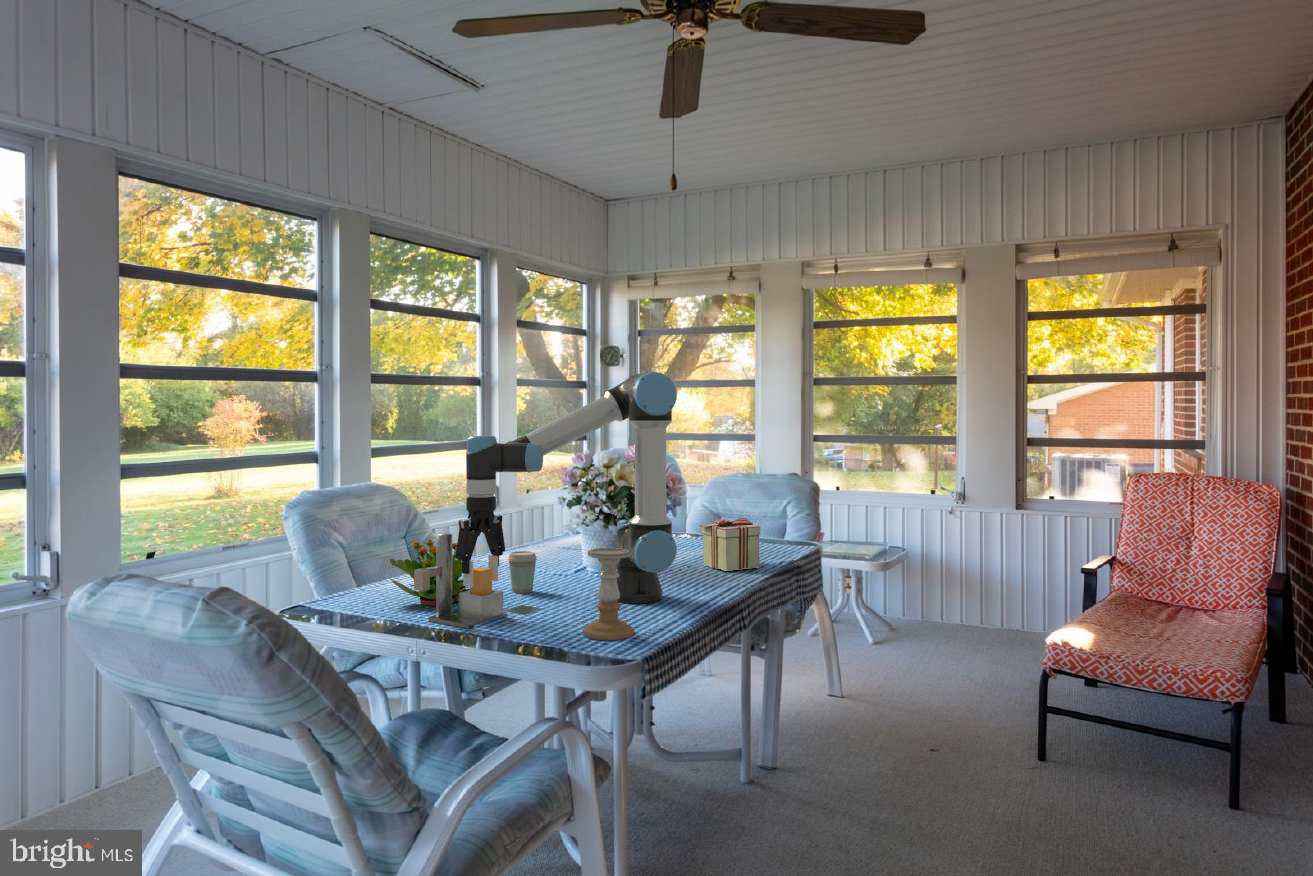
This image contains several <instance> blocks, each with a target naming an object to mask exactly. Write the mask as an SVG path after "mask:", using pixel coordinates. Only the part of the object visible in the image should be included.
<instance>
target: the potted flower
mask: <svg viewBox="0 0 1313 876" xmlns="http://www.w3.org/2000/svg"><path fill="white" fill-rule="evenodd" d="M424 544H425V545H426V546H427V547H428V548H429V550H428V548H426V547H425V546H424ZM424 544H421V541H415V542H413V543H412V546H413V547H412V549H413V550H416V551H417V552H416V553H417V554H418V556H417V557H416V559H417V560H416V559H413V560H412V561H411V559H408V558H405V559H397V560H395V559H394V558H389V563H390V564H391V566H393V567H395V568H398V569H401V570H402V571H403V572H405V573H407V574H408V575H409V576H410V577H411V579H413V582H414V570H416V569H421V568H422V569H424V568H429V567H434V566H436V546H435V545H434V541H433V540H432V539H431V538H429V539H427V541H426V543H424ZM456 549H457V542H452V550H454V551H453V553H452V604H454V603H455V602H456V601H458V593H461V592H465V591H469V590H470V587H468V586H463V579H460V578H461V577H462V576H463V573H462V561H461V560H459V559H456V557H455V556H456ZM427 550H428V551H427ZM418 560H419V561H418ZM390 581H391V582H392V583H393V584H394V585H396V586H397V587H398V588H400V589H401V590H402V591H404V592H406V593H407V594H409V595H412V596H414V597H417V598H419V601H420V603H421V605H423V606H429V607H430V606H431V607H433V606H434V607H435V606H436V576H433V577H430V590H426V591H418V590H414V589H412V588H409V587H408V586H407V585H405V584H402V583H401V582H399V581H397V580H395V579H390ZM409 585H410V587H414V584H411V583H409Z"/></svg>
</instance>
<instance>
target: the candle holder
mask: <svg viewBox="0 0 1313 876" xmlns="http://www.w3.org/2000/svg"><path fill="white" fill-rule="evenodd" d="M586 553H587V556H588V557H590V558H593V559H597V561H598V563H599V564H600V565H601V571H600V572H599V574H598V577H599V578H600V583H599V589H598V591H597V596H596V597H597V599H598V600H599V601H598V603H597V604H596V608H597V610H598V611H599V613H598V619H597V620H593V621H592V622H590V623H589V624H587V625H586V626H583V627H584V628H583V629H582V633H583V636H584V637H586V638H589V639H592V640H597V641H598V640H599V641H618V640H620V641H621V640H625V639H628V638H630V637H633V636H634V632H635V629H634V627H633V626H632V625H630V624H628V623H627V622H626V621H624V620H623V619H622V620H621V619H619V612H618V611H619V610H620V609H621V607H622V605H621V604H620V602H618V601H617V600H618V599H619V597H620V592H619V589H618V585H617V578H618V577H619V573H618V572H617V564H618V563H619V561H620V559H621V558H626V557H628V556H630V554H631V552H630V551H629V550H627V549H621V548H617V547H601V548H600V547H598V548H592V549H589V550H587V552H586Z"/></svg>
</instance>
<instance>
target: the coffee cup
mask: <svg viewBox="0 0 1313 876" xmlns="http://www.w3.org/2000/svg"><path fill="white" fill-rule="evenodd" d="M537 558H538V557H537V556H536V552H534V551H526V550H519V551H518V550H517V551H512V552H509V554H508V558H507V561H508V565H509V574H510V586H511V591H512V593H513V594H521V595H523V594H529V593H533V589H534V579H535V573H536V572H535V570H536V562H537V560H538V559H537Z"/></svg>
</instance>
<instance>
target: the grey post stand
mask: <svg viewBox="0 0 1313 876" xmlns="http://www.w3.org/2000/svg"><path fill="white" fill-rule="evenodd" d="M435 540H436V541H435V543H436V544H435V545H436V566H434V567H429V568H424V569H422V568H421V569H416V570H414V579H413V580H414V581H413V585H414V586H413V590H414V591H417V592H418V591H426V590H430V577H433V576H436V607H435V611H436V613H435V615H432V616H428V618H427V619H428V622H431V623H436V624H440V625H446V626H450V627H451V626H452V627H457V628H462V629H466V630H467V629H468V630H470V629H473V628H476V626H475V625H478V624H479V625H480V624H483V623H486V622H489V621H493V620H496V619H500V618H502V617H506V616H508V613H507V612H506V613H504V611H503V610H504V590H498V589H492V593H489V594H485V595H476V594H470V590H469V591H465V592H461V593H458V602H457V603H458V605H457V607H458V609H455V610H453V603H452V555H453V549H452V543H453V533H450V532H448V533H446V532H443V533H437V534H436V536H435Z"/></svg>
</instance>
